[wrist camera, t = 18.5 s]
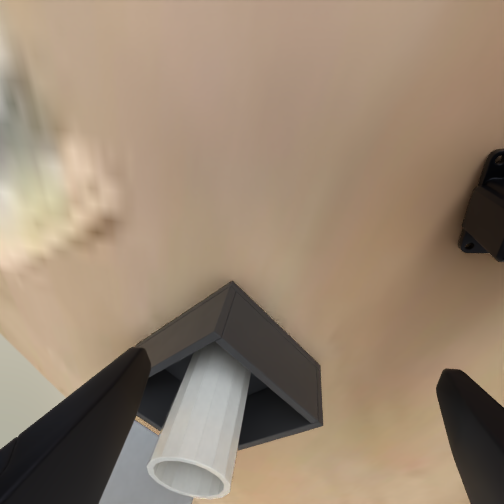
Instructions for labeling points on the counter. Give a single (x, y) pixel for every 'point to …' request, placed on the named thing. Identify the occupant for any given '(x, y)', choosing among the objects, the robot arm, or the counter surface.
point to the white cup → (203, 426)
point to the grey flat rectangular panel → (138, 474)
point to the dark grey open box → (249, 355)
